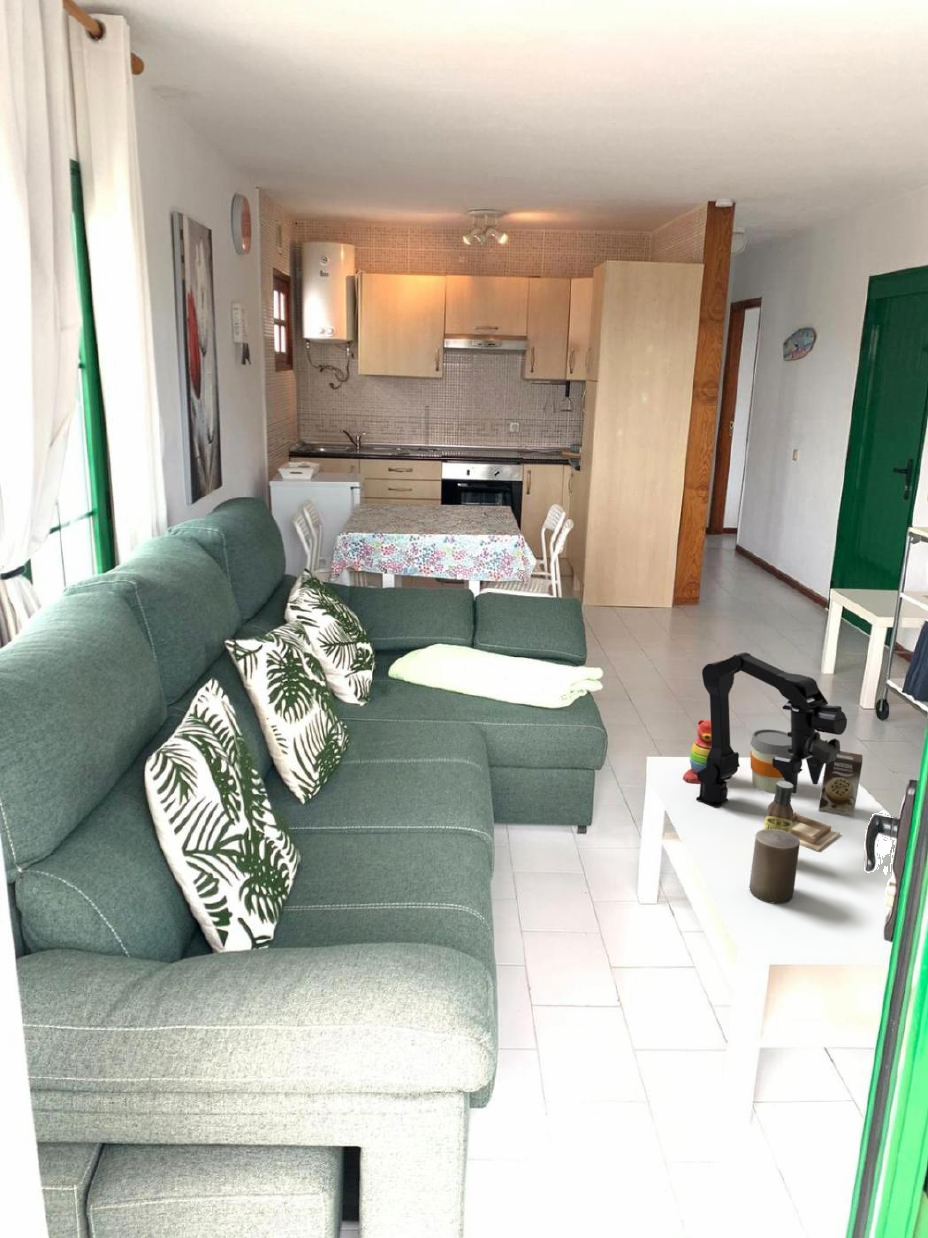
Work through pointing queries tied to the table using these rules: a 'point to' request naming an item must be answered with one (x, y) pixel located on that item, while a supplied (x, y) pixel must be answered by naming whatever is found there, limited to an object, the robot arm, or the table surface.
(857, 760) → the cookie box
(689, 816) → the table surface
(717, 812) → the table surface
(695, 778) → the stacking bear
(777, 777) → the reusable coffee cup
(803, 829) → the cradle
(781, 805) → the sauce bottle
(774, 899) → the pillar candle
